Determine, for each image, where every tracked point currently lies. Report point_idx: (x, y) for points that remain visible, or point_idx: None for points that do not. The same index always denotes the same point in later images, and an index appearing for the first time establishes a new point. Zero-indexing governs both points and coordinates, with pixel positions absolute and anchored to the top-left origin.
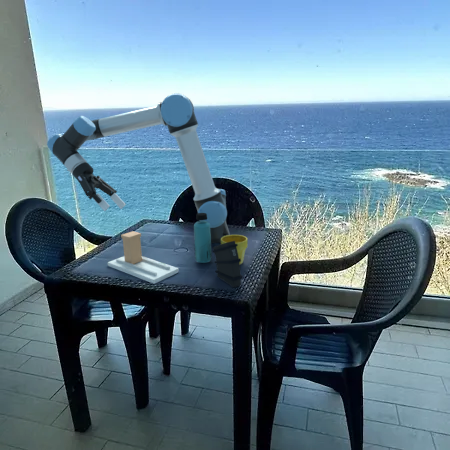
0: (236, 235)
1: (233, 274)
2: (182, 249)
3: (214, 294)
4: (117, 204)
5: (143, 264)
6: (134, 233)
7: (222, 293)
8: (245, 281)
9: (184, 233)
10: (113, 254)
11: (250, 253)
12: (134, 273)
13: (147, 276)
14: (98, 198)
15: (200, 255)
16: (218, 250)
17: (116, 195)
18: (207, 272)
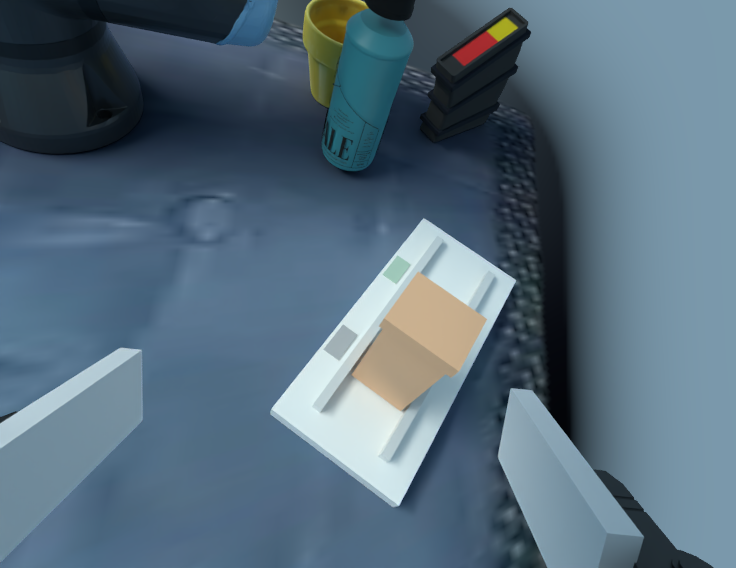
0: (310, 9)
1: (499, 95)
2: (198, 214)
3: (523, 160)
4: (102, 451)
5: None
6: (424, 303)
7: (514, 146)
8: None
9: None
10: (230, 542)
11: (266, 49)
12: (477, 352)
13: (498, 302)
14: (629, 500)
15: (379, 141)
16: (483, 69)
17: (27, 435)
18: (411, 159)
